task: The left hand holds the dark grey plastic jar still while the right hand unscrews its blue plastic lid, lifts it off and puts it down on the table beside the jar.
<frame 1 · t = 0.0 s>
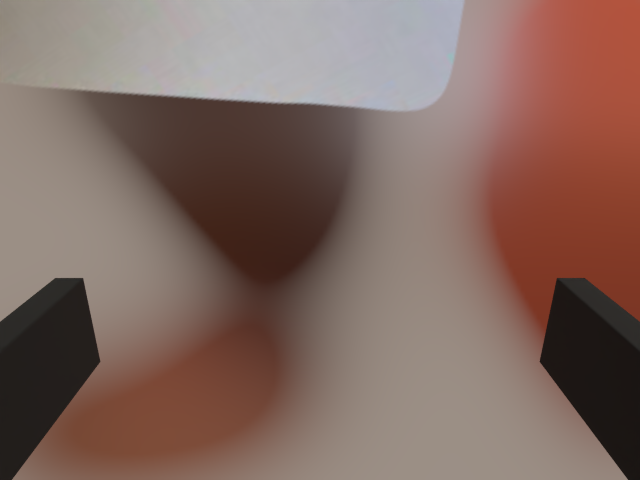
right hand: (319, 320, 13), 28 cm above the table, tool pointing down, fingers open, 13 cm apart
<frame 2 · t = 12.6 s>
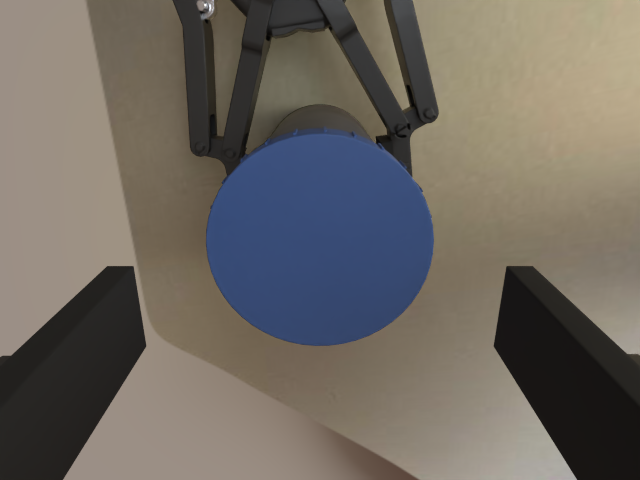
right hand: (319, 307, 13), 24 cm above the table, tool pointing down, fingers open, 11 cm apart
lid: (319, 246, 18), point 19 cm above the table, screwed on, not yet turned
jar: (320, 157, 36), on the table, touching left hand
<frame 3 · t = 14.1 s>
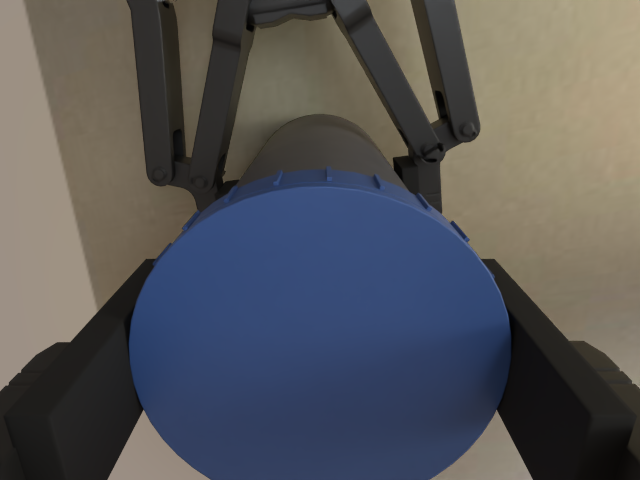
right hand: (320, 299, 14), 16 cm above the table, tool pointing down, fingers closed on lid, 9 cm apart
lid: (320, 362, 11), point 19 cm above the table, screwed on, not yet turned, touching right hand
jar: (320, 180, 29), on the table, touching left hand
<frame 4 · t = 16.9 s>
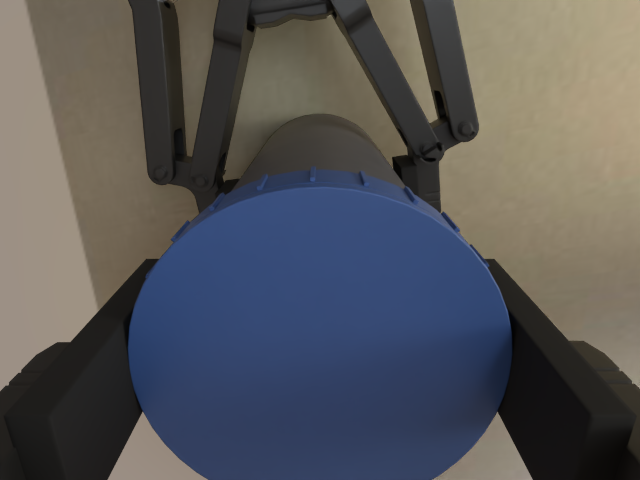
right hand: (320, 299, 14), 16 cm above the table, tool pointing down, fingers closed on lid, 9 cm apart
lid: (320, 363, 11), point 19 cm above the table, turned 77° so far, risen 0.2 cm, still on its thread, touching right hand
jar: (319, 179, 29), on the table, touching left hand
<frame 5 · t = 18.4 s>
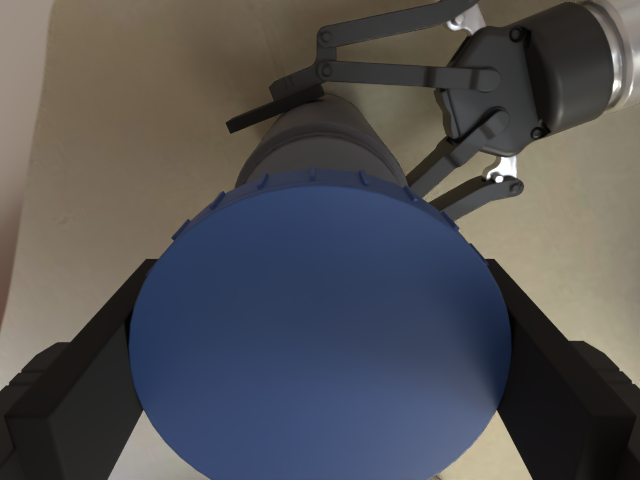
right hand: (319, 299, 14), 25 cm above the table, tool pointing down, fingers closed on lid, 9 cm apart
left hand: (259, 185, 32), fingers closed on jar, 8 cm apart
lid: (320, 362, 11), point 28 cm above the table, off its thread, touching right hand
jar: (321, 146, 37), on the table, touching left hand
when the right hand's fingers open (0 cm above the table, at t = 23.7 s): lid drops 2 cm, point 1 cm above the table.
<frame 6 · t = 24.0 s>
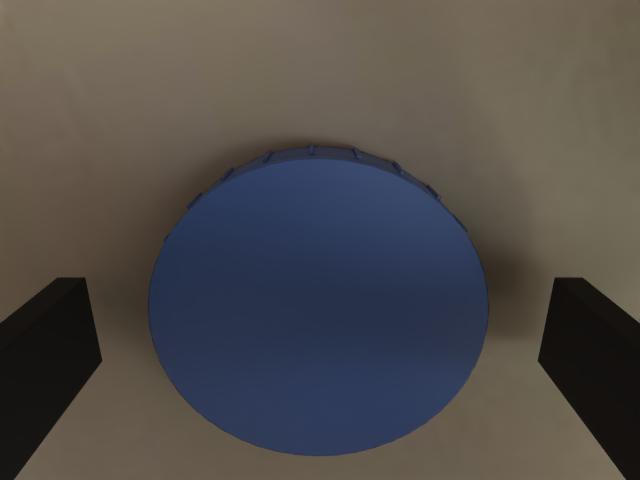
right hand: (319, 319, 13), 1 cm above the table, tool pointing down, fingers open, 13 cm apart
lid: (318, 320, 12), point 1 cm above the table, off its thread
when the left hand's fingers open (6 cm above the table, at t = 24.7 s): jar stays where it is, on the table.
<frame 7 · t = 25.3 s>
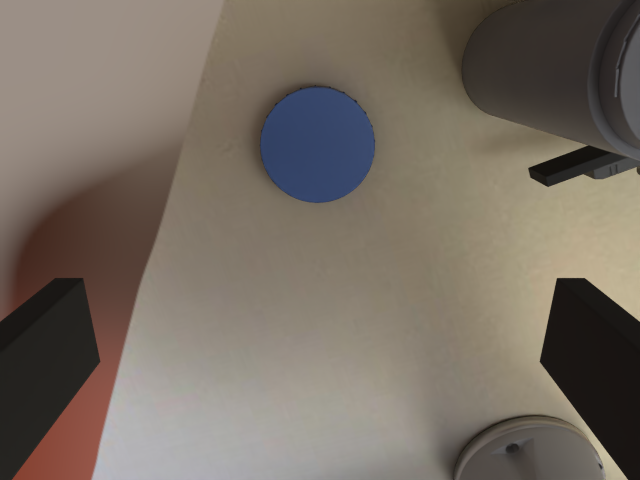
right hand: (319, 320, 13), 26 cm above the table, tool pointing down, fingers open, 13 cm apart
lid: (317, 147, 36), point 1 cm above the table, off its thread
jar: (515, 63, 35), on the table
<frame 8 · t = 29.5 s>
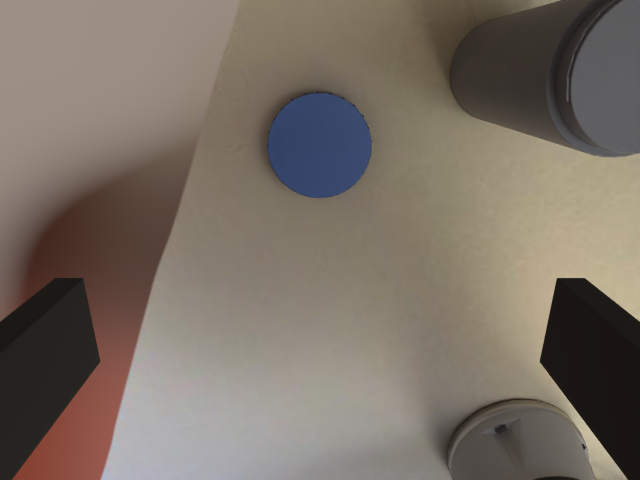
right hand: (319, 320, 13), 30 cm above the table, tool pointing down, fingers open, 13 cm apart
lid: (319, 147, 39), point 1 cm above the table, off its thread
jar: (498, 71, 38), on the table
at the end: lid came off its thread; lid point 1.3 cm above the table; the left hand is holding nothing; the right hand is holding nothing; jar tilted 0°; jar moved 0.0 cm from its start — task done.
